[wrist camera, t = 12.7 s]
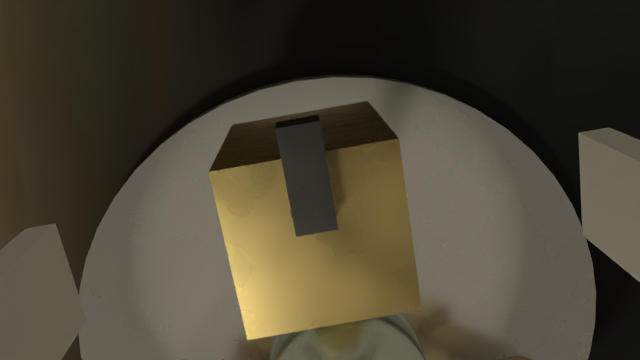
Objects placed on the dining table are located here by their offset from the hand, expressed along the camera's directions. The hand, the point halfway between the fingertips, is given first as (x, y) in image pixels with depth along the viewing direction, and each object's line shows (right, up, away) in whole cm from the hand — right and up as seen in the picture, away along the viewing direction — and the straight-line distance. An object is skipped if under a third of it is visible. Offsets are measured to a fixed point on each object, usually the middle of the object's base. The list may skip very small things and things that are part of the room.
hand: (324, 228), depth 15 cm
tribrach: (+1, -5, +12) cm, 13 cm away
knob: (-1, +2, +8) cm, 8 cm away
